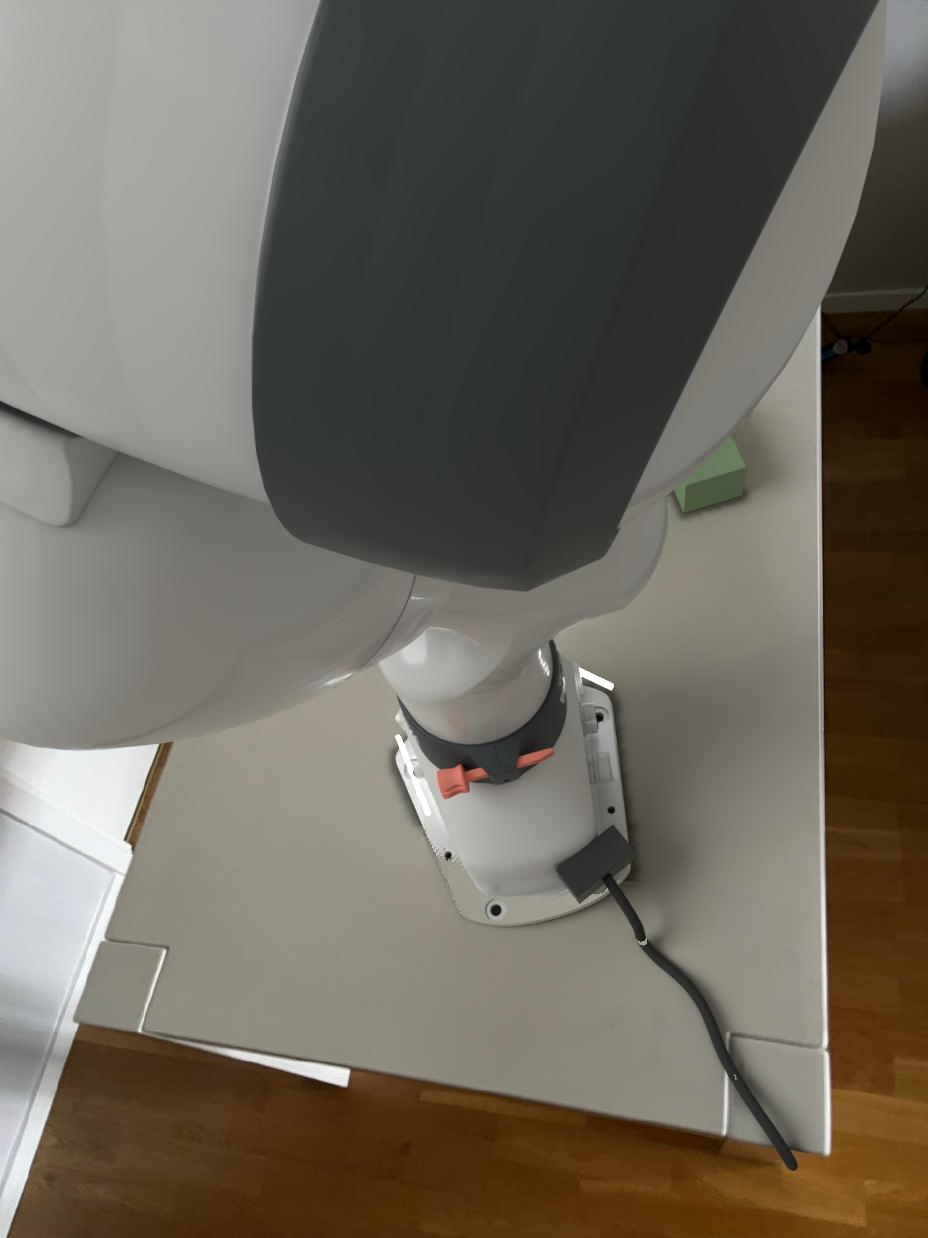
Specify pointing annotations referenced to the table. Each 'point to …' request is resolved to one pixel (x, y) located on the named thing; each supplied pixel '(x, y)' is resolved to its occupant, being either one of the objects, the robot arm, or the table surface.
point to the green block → (714, 479)
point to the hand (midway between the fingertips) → (648, 277)
